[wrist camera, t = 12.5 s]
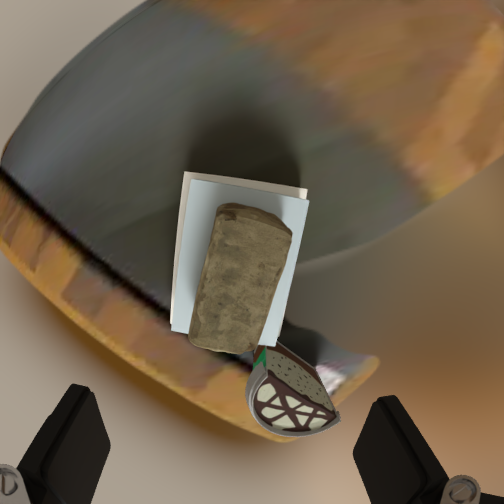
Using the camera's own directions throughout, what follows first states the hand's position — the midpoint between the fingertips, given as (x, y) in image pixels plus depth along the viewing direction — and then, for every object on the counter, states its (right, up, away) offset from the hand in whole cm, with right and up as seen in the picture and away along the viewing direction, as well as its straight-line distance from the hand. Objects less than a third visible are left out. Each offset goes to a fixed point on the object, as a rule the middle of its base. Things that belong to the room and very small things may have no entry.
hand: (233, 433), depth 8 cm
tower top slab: (-1, +5, +22) cm, 22 cm away
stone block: (-1, +4, +18) cm, 19 cm away
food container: (+4, -9, +29) cm, 31 cm away
